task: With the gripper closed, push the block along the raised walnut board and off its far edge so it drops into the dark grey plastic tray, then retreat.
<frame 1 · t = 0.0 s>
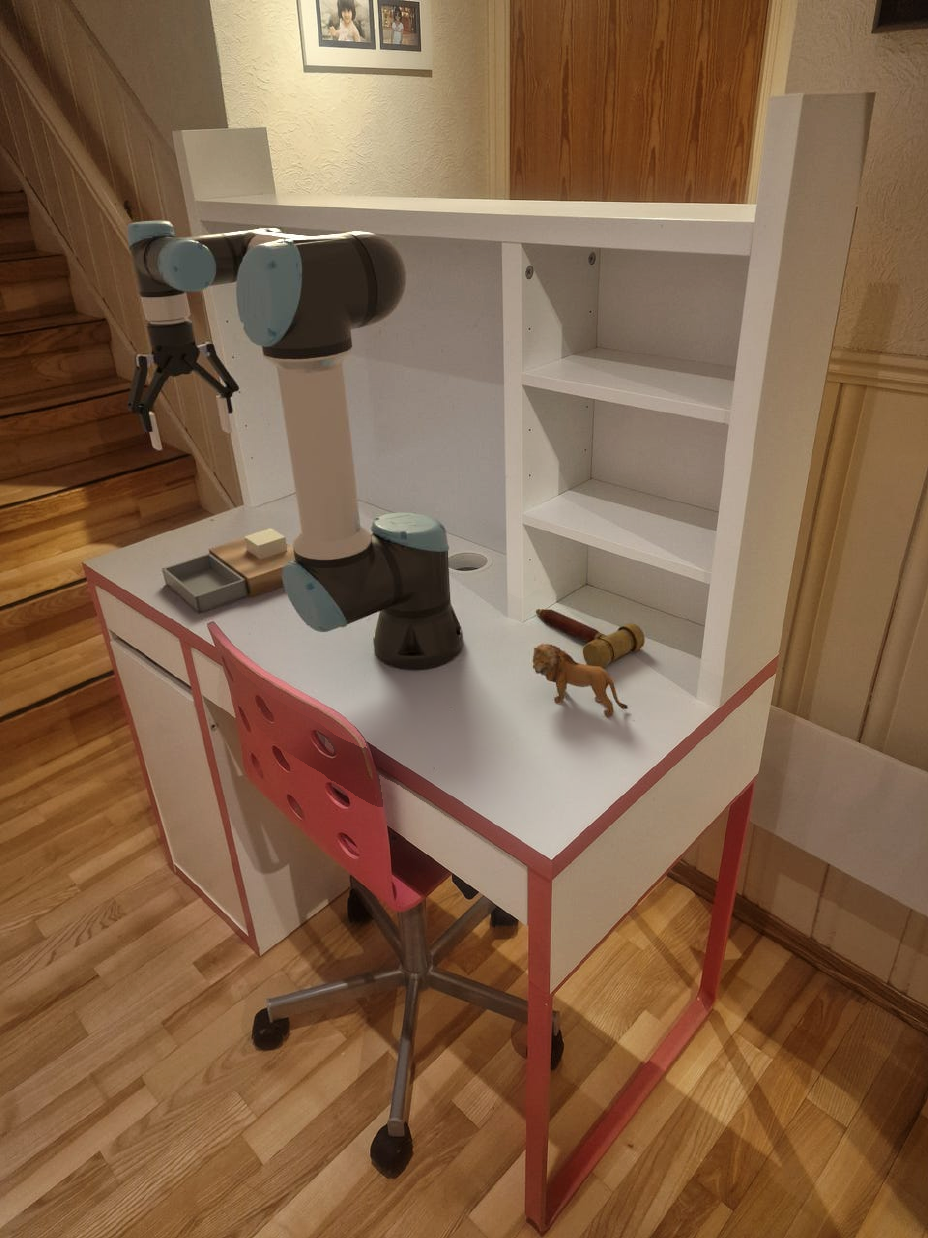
hand: (193, 439, 156), 28 cm above the table, tool pointing down, fingers open, 13 cm apart
lion figurine: (575, 703, 128), on the table
board: (261, 571, 171), on the table
tray: (206, 590, 165), on the table
gavel: (577, 639, 145), on the table
block: (267, 550, 170), point 4 cm above the table, touching board
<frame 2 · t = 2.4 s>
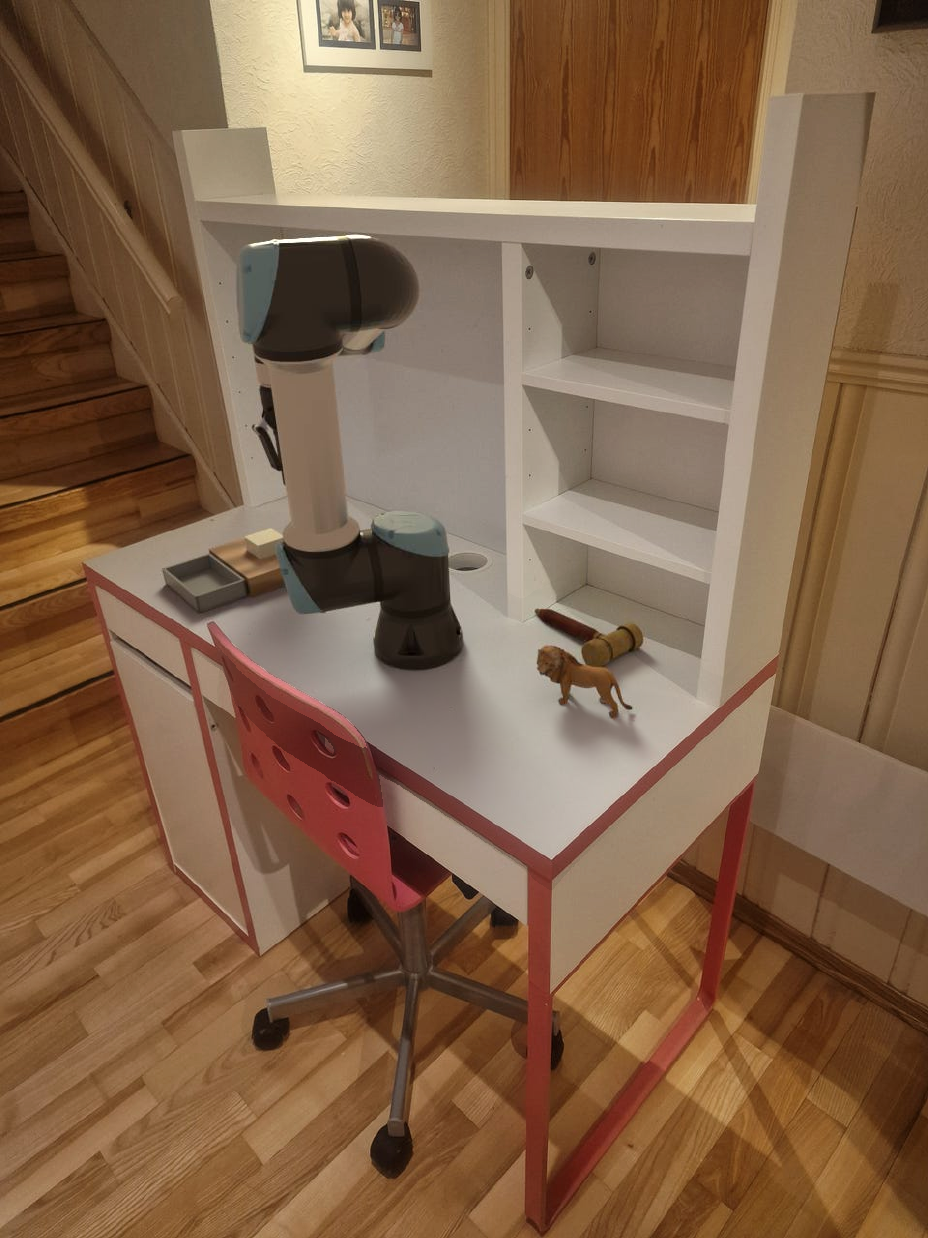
hand: (295, 499, 170), 12 cm above the table, tool pointing down, fingers closed
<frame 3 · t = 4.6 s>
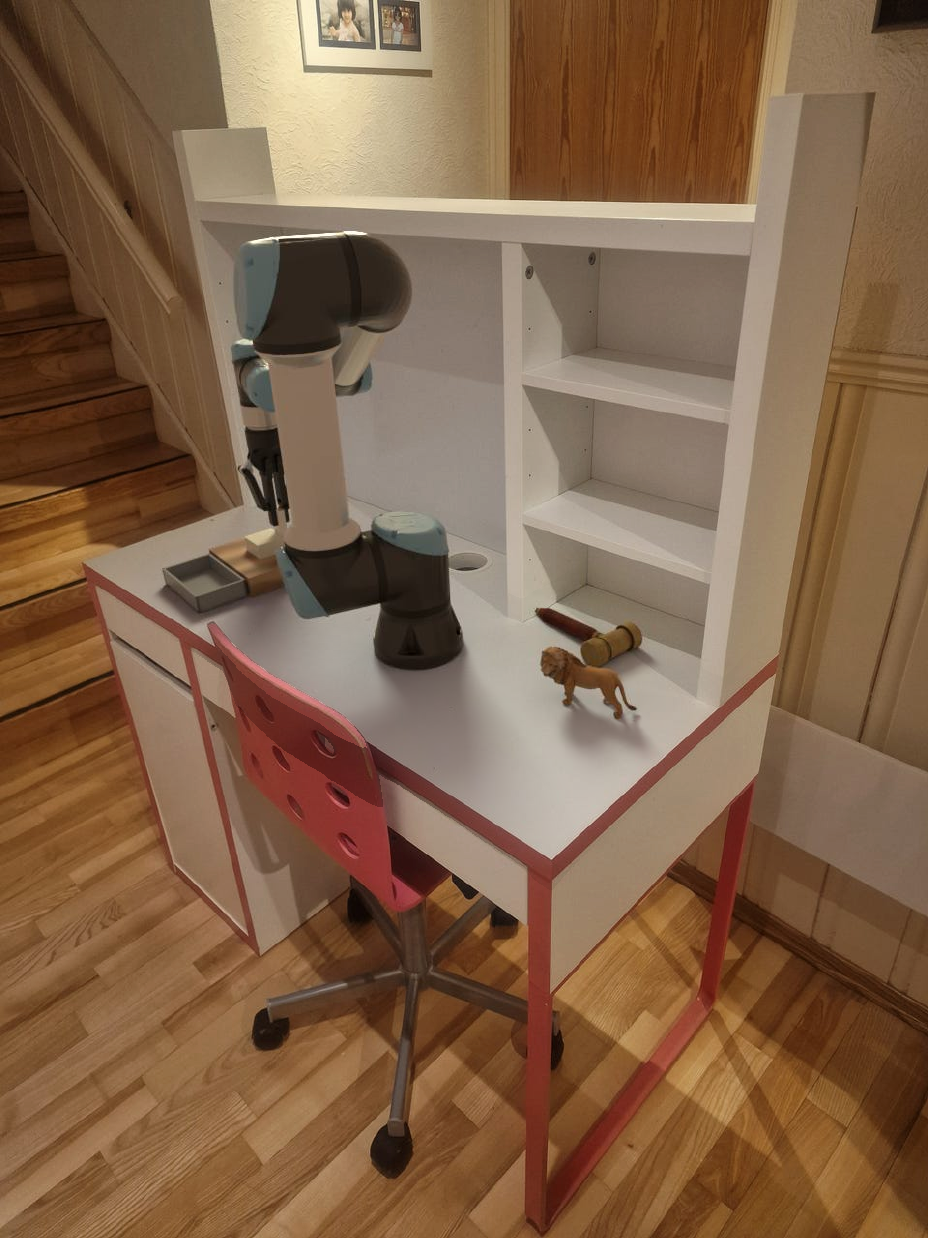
hand: (282, 538, 171), 5 cm above the table, tool pointing down, fingers closed
block: (267, 550, 170), point 4 cm above the table, touching gripper
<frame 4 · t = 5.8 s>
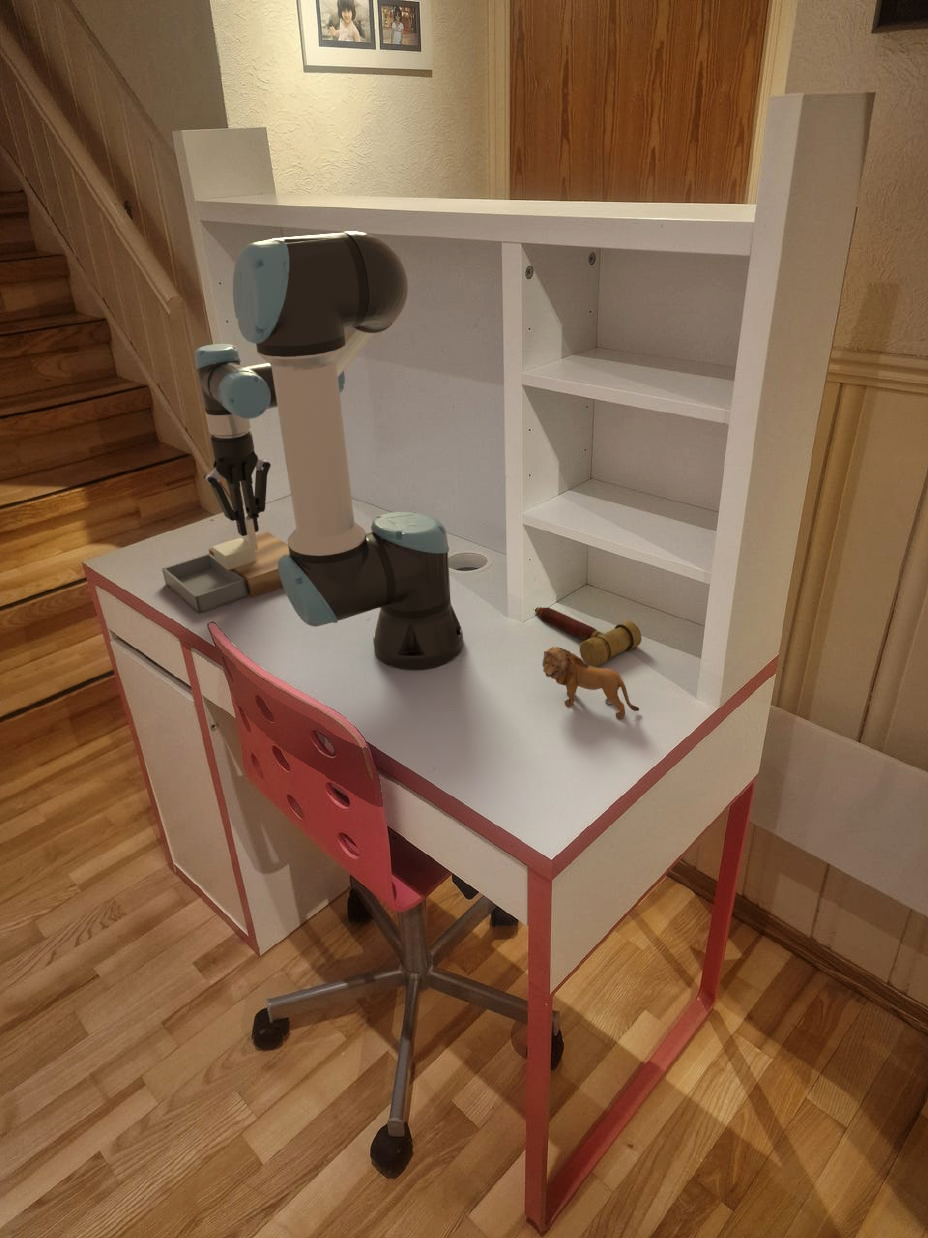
hand: (251, 548, 168), 5 cm above the table, tool pointing down, fingers closed
block: (235, 560, 167), point 4 cm above the table, touching board, gripper
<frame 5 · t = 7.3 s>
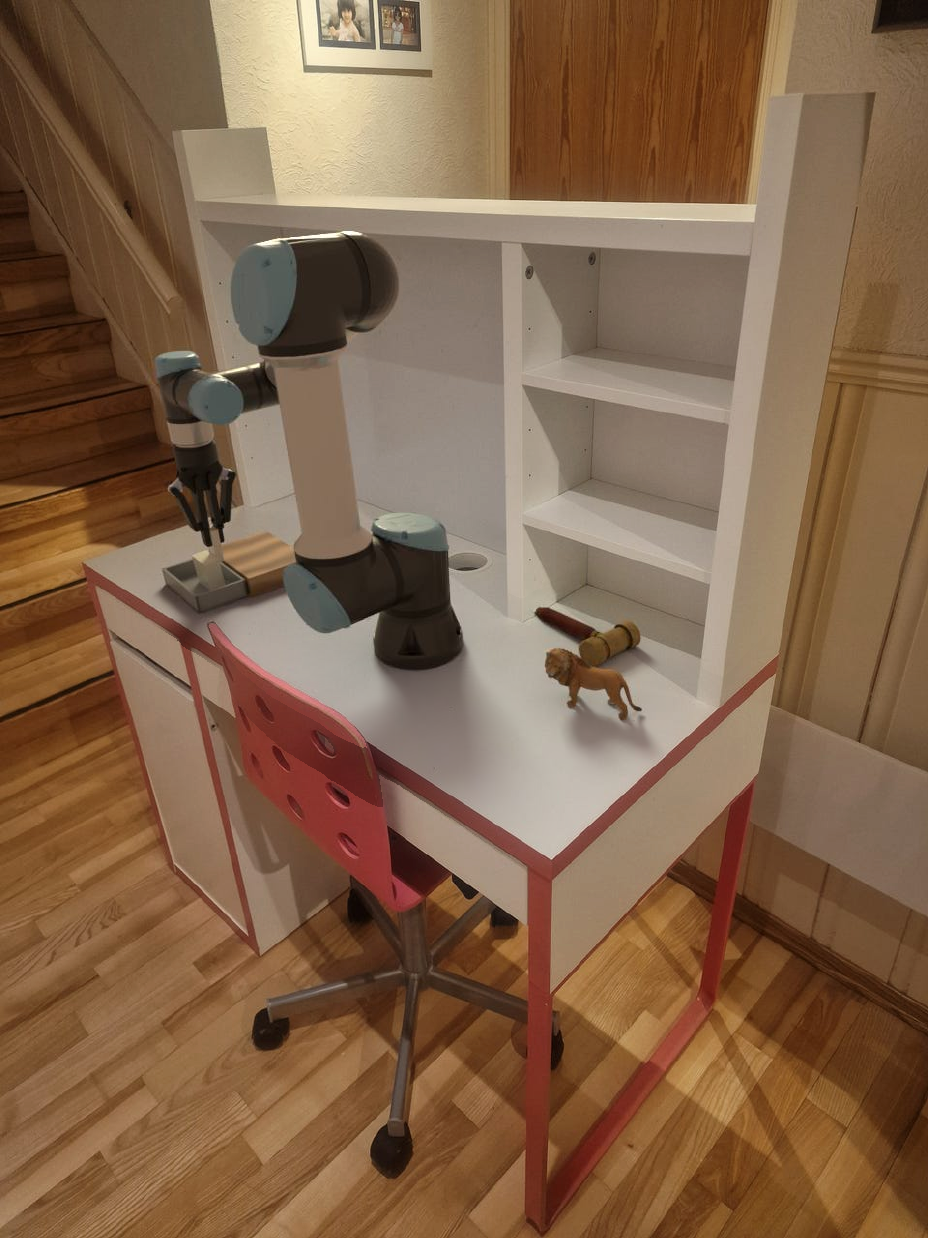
hand: (217, 559, 164), 5 cm above the table, tool pointing down, fingers closed
block: (216, 568, 165), point 4 cm above the table, tilted 93°, touching gripper, tray
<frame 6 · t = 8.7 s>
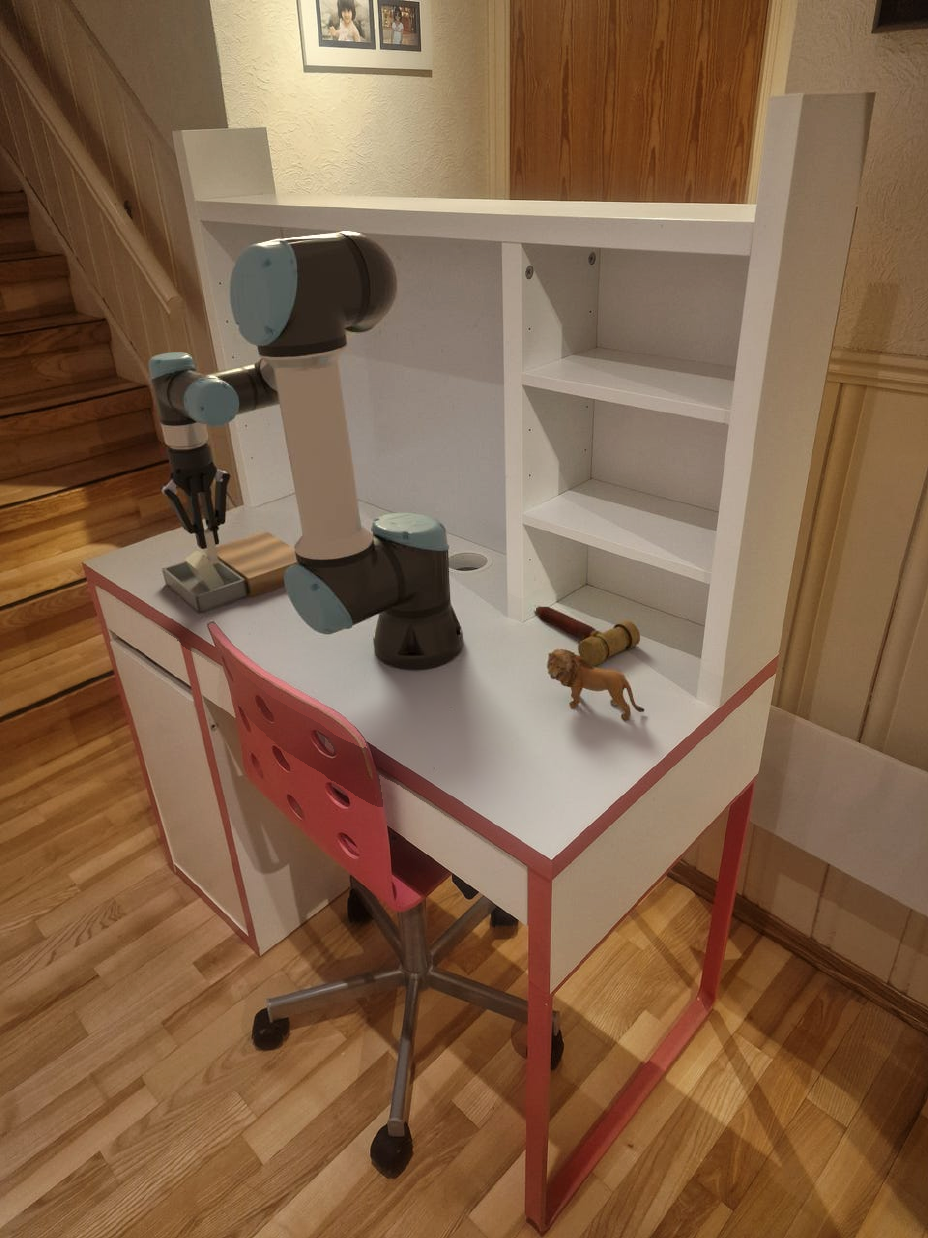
hand: (212, 561, 163), 5 cm above the table, tool pointing down, fingers closed
block: (210, 567, 164), point 4 cm above the table, tilted 108°, touching gripper, tray
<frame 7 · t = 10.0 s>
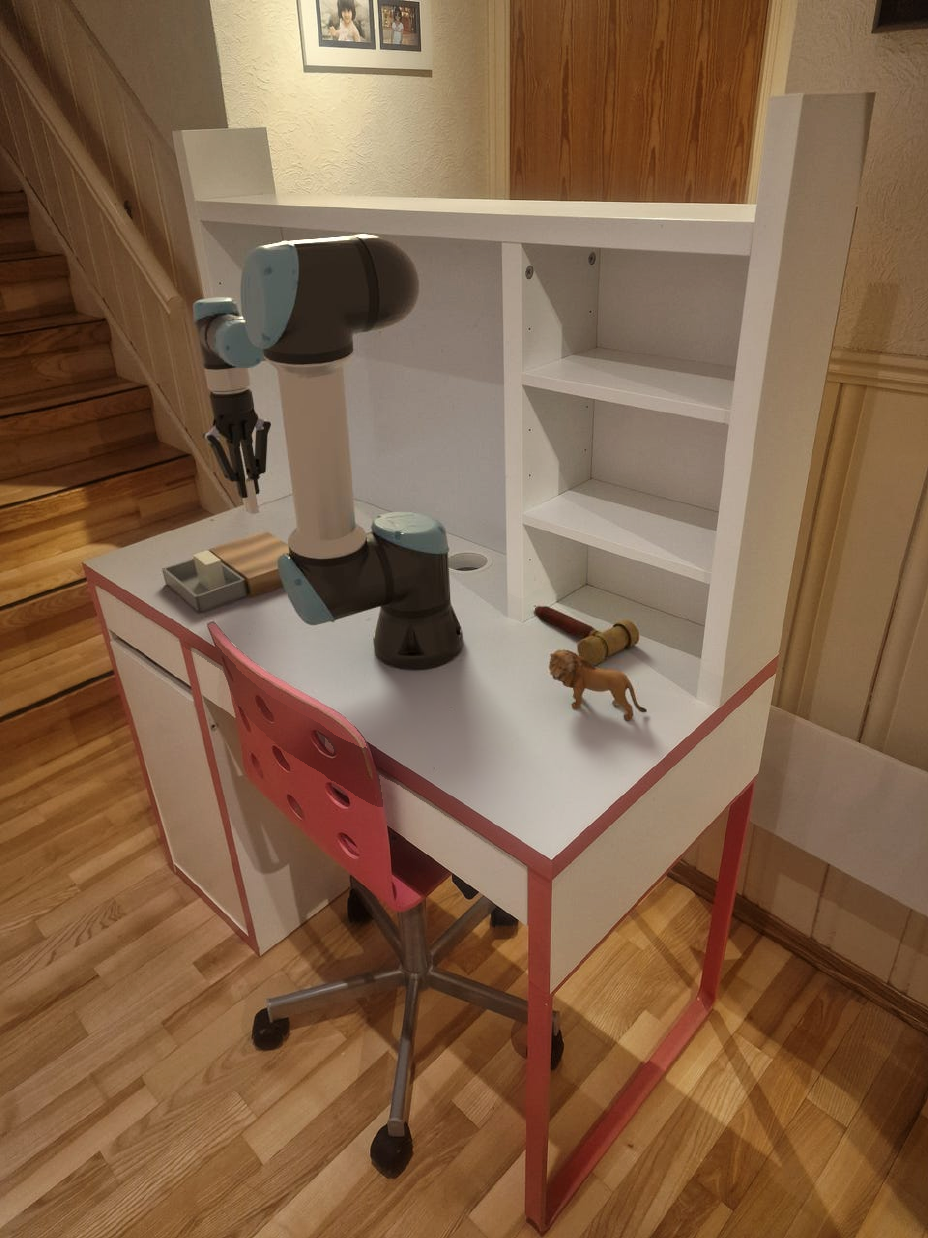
hand: (252, 511, 164), 13 cm above the table, tool pointing down, fingers closed
block: (217, 569, 165), point 3 cm above the table, tilted 90°, touching tray
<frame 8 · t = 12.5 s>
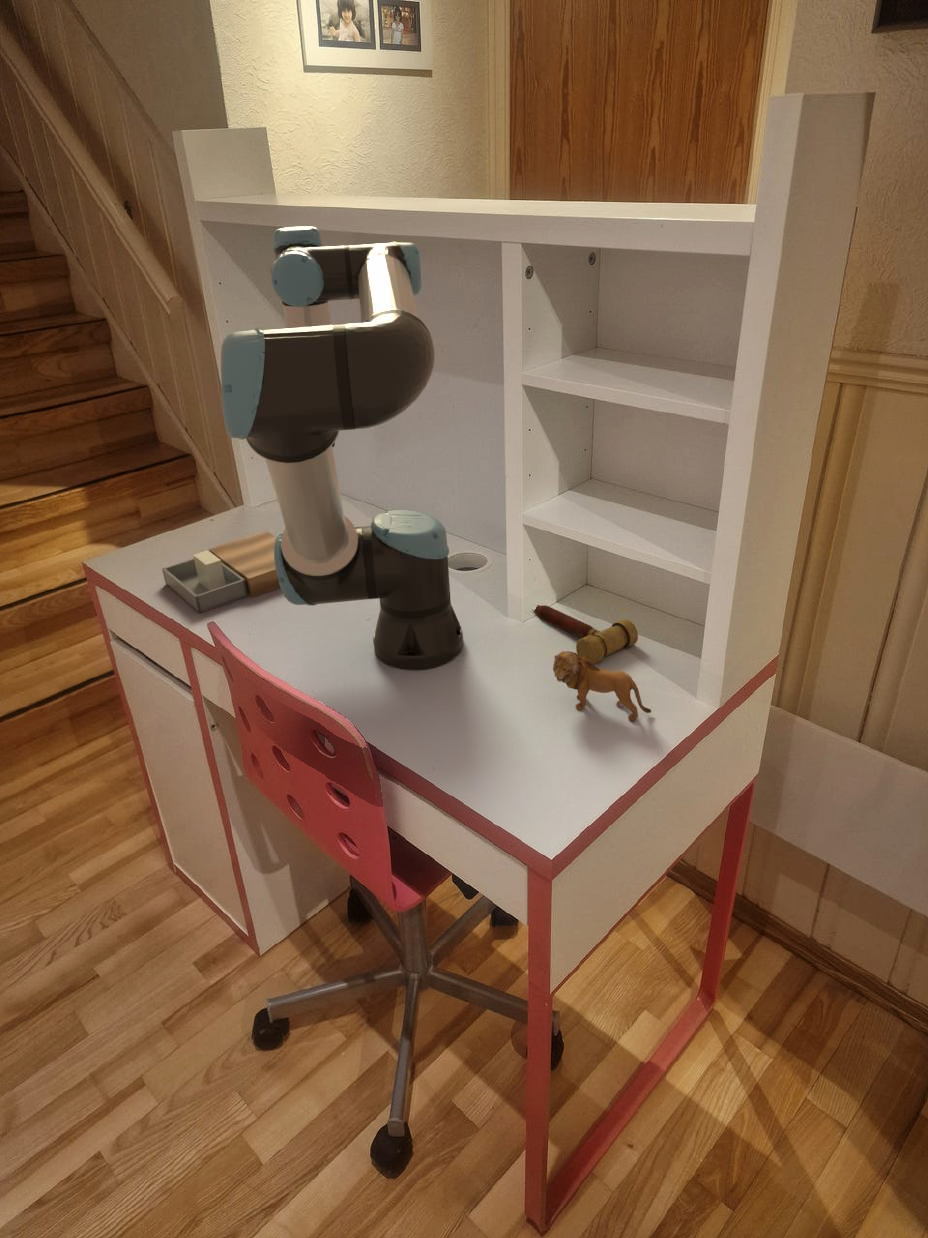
hand: (326, 465, 152), 24 cm above the table, tool pointing down, fingers closed
at the end: block inside the target area on the tray (3.0 cm from its centre), point 3.5 cm above the tray's base; block point 3.5 cm above the table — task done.
